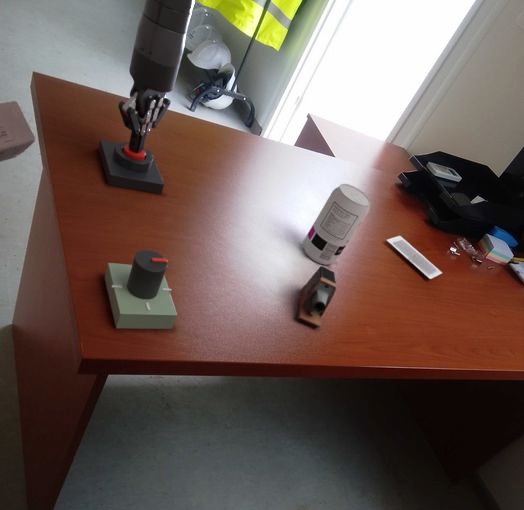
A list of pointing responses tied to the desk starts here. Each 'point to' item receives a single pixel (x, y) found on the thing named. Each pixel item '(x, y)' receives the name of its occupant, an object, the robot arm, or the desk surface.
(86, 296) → the desk surface
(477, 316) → the desk surface
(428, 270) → the white grey flat block
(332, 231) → the supplement can
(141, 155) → the button
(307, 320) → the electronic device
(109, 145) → the button base
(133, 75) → the robot arm
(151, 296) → the dial
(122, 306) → the dial panel
